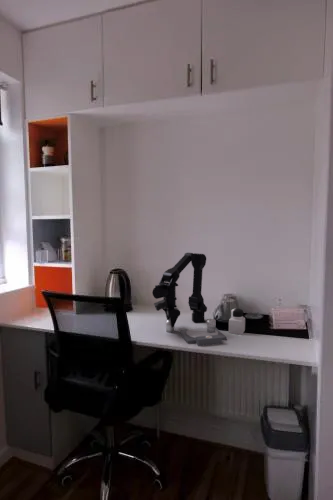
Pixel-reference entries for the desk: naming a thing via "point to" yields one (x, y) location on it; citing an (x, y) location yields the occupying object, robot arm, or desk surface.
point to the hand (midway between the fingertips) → (170, 324)
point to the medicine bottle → (237, 322)
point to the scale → (202, 336)
